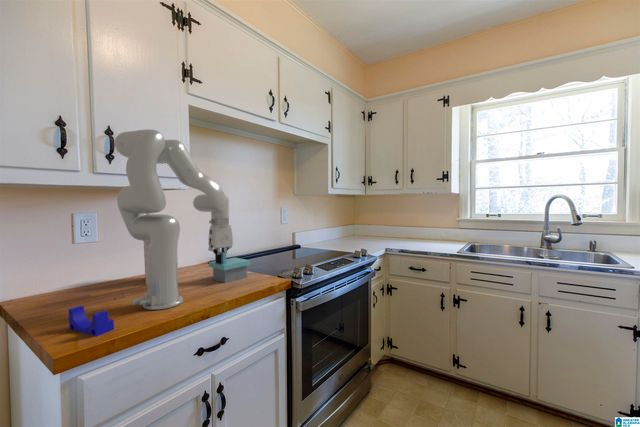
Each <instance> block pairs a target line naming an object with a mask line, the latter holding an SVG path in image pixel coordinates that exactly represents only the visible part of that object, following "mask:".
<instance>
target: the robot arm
mask: <svg viewBox="0 0 640 427" xmlns="http://www.w3.org/2000/svg"><path fill="white" fill-rule="evenodd" d="M114 147H115V149H116V151H117V153H119V154H120V155H122V156H123V157H125V158H127V161H126V164H125V173H126V177H127V180H128V183H129V185H128V186H124V187H122V188H121V189H120V190H119V192H118V194H117V197H116V203H117V207H118V210H119V213H120V215H121V217H122V219H123V222H124V224H125V226H126V230H127V231H128V233H129V234H130V236H131V237H132V238H133V239H135V240H137V241H141V242H142V241H143V242H144V241H151V244H150V246H149V248H148V251H147V285H146V286H147V292H144V293H143V294H144V295H142V296H141V297H138V298H134V299H133V298H132V299H131V304H132V306H135V305H140V306H141V305H142V307H143V308H144V309H145V310H151V311H154V310H155V311H157V310H159V311H160V310H165V309H170V308H174V307H176V306H179V305H181V304H182V303H183V301H184V297H183V296H182V295H179V271H178V270H179V267H178V264H179V263H178V244H179V237H180V232H181V225H180V223H179V221H178V219H177V218H175V217H174V216H172V215H169V214H162V213H161V214H160V212H162V211H163V210H165V208H166V206H167V200H166V196H165V193H164V190H163V187H162V184H161V181H160V178H159V175H158V172H157V171H158V170H157V165H163V164H166V165H167V166H169V167H170V169H171V170H172V172H173V173H174V174H175V176H176V177H177V179H178V180H179V182H180V183H182V184H183V185H185V186H187V187H189V188H192V189H195V190H198V191H200V192H201V193H203V194H198V195H197V196H195V197H194V199H193V202H192V204H193V208H194V209H195V210H196V211H199V212H201V213H202V212H204V213H210V214H211V215H210V216H211V218H210V220H209V224H210V227H209V231H208V248H207V250H208V251H210V252H213V254H214V255H215V254H216V263H219V264H221V255H220V252H225V253H226V254H228V251H229V250H230V249H232V248H233V243H234V241H233V240H234V237H233V231H232V226H231V224H230V215H229V214H230V213H229V212H230V208H229V207H230V205H229V201H230V200H229V197H228V195H226V194H225V192H224V190H223V189H222V187H221V186H220V185H219V183H217V182H216V181H215V180H214V179H212V178H211V177H210V176H208V175H207V174H205V173H204V172H202V171H201V170H200V168H199V167H198V165H197V163H196V162H195V160H194V158H192V155H191V154H190V152H189V151H188V149H187V147H186V146H185V144H184V143H183V142H182V141H180V140H178V139H165V137H164V135H163V134H162V132H160V131H158V130H157V129H148V128H147V129H140V130H132V131H123V132H120V133H119V134H118V135H117V136H116V137H115V139H114ZM156 213H159V214H156Z"/></svg>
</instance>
